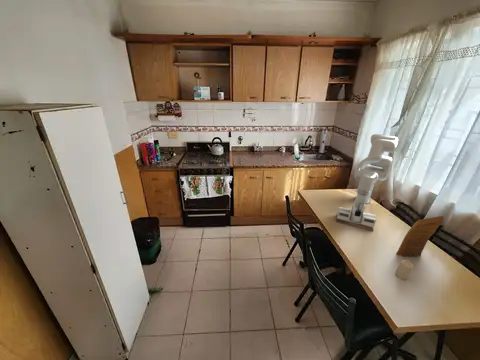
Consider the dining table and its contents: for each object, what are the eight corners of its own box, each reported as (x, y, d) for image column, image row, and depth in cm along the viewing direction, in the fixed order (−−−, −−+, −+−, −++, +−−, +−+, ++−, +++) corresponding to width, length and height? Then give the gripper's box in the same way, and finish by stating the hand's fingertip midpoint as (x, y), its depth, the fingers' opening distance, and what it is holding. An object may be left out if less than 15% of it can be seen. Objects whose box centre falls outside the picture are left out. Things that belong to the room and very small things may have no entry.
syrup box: (357, 217, 156) (362, 201, 150) (360, 222, 151) (365, 205, 145) (349, 217, 157) (354, 200, 151) (352, 221, 151) (357, 204, 145)
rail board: (336, 215, 163) (339, 205, 160) (371, 223, 154) (375, 213, 151) (336, 221, 155) (338, 212, 152) (373, 231, 146) (376, 221, 142)
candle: (395, 269, 115) (402, 256, 111) (408, 275, 112) (415, 261, 108) (394, 276, 111) (401, 262, 107) (407, 282, 108) (414, 267, 104)
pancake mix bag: (429, 258, 124) (450, 218, 112) (399, 259, 122) (417, 220, 110) (419, 250, 130) (438, 212, 118) (391, 251, 128) (407, 212, 117)
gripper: (356, 185, 153) (350, 205, 160) (357, 195, 138) (351, 217, 145) (368, 187, 150) (362, 208, 157) (370, 198, 135) (363, 220, 142)
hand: (356, 212), depth 151 cm, fingers open, 9 cm apart
